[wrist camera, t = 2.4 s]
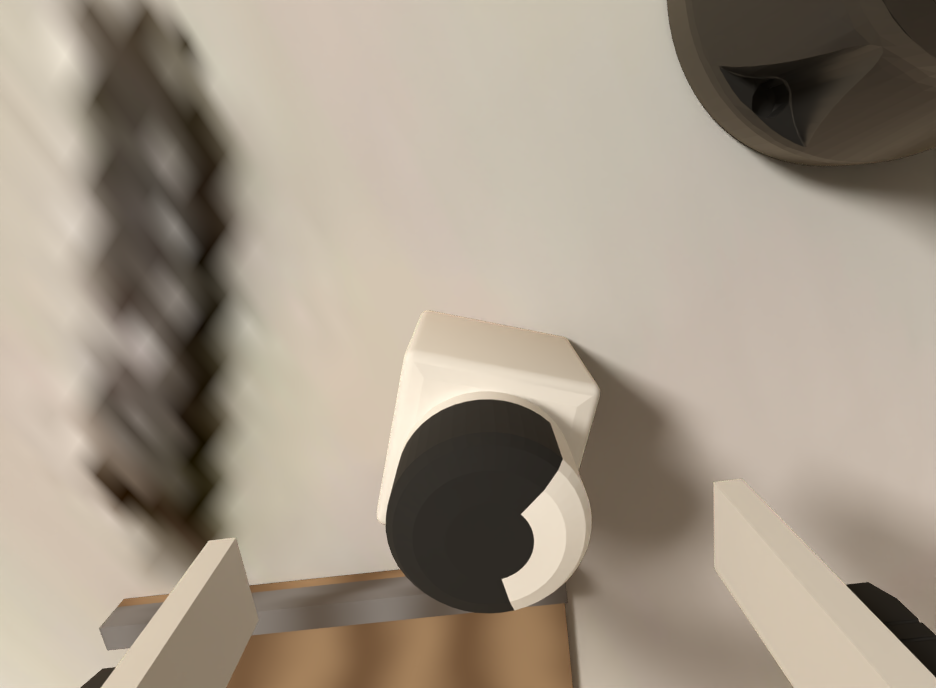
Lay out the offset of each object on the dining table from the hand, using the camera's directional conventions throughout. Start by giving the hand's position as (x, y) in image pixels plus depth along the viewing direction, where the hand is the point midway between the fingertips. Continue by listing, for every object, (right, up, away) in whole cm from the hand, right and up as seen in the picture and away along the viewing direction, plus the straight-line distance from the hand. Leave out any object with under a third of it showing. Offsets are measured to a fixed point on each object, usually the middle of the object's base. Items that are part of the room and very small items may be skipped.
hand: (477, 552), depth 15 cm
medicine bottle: (0, +3, +12) cm, 13 cm away
